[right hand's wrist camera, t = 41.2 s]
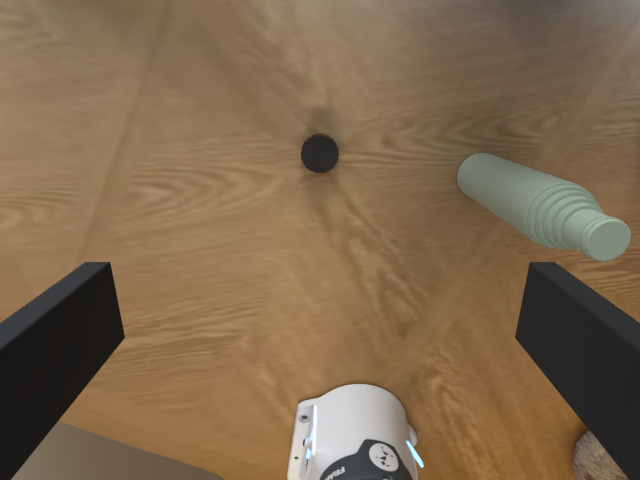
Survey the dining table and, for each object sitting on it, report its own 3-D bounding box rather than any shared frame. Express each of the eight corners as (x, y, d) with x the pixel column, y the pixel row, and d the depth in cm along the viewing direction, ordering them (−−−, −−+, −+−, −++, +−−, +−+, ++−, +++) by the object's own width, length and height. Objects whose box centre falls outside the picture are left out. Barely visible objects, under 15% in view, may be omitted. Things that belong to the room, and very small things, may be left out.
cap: (341, 165, 47) (342, 168, 45) (306, 173, 47) (306, 177, 45) (333, 129, 45) (333, 130, 43) (297, 138, 46) (296, 140, 44)
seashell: (588, 388, 62) (603, 428, 53) (662, 419, 59) (692, 467, 50) (552, 454, 66) (560, 501, 57) (620, 486, 63) (640, 542, 54)
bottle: (448, 168, 47) (555, 229, 26) (490, 143, 46) (636, 185, 25) (468, 205, 48) (583, 291, 27) (509, 182, 47) (662, 252, 26)
